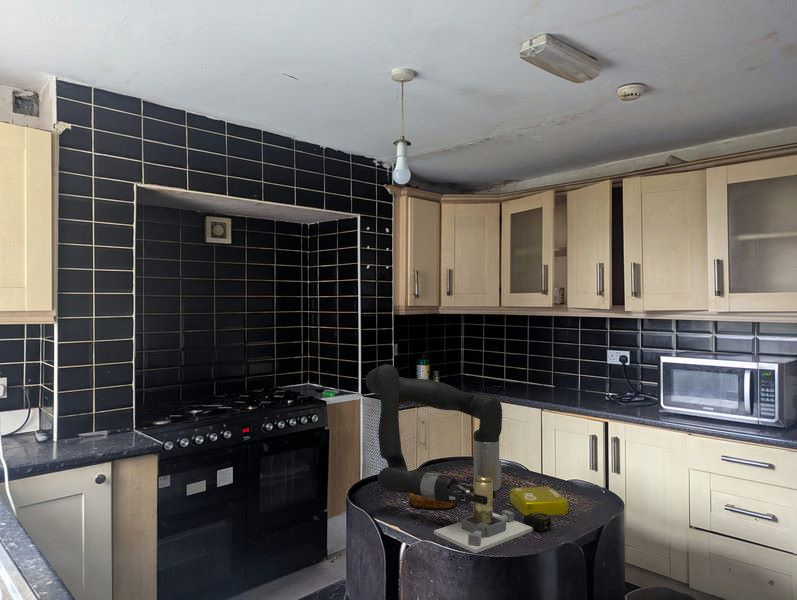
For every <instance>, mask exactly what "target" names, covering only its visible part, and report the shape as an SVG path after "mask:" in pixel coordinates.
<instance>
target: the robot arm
mask: <svg viewBox="0 0 797 600" xmlns="http://www.w3.org/2000/svg"><path fill="white" fill-rule="evenodd" d="M365 385H366V387H367V389H368V390H369V391H370V392H371V393H373V394H374V395H377V396H379V397H380V416H379V422H378V431H377V432H378V446H379V454H380V457H381V458H382V459H384V460H386V463H387V466H386V467H384V468H382V469H381V470H380V471H379V473H378V475H377V481H378V484H379V486H380V487H381V488H382V489H384V490H385V491H389V492H396V493H408V494H410V493H412V494H415V495H420V496H424V497H427V498H430V499H434V500H439V501H443V502H448V503H452V502H453V503H456V504H460V505H467V506H468V505H470V504H473V503H479V504H484V505H486V504H487V503H488V497H487V496H483V495H478V494H475V495H474V493H473V483H474V481H467V483H466V482H465V483H464V482H461V483H459V482H458V480H457V477H455V476H452V475H448V474H443V473H442V474H441V473H435V472H427V471H422V470H408V467H407V463H406V460H405V457H404V454H403V452H402V442H401V434H400V433H401V432H400V421H399V419H400V417H399V414H400V413H399V412H400V411H399V402H400V399H402V400H406V401H409V402H411V403H415V404H419V405H422V406H427V407H428V408H431V409H432V408H433V409H437V410H441V411H457V412H460V413H463V414H465V415H469V416H470V417H472V418H475V419H477V420H479V424H478V425H479V427H478V429H476V430H475V431H474V432H473V480H474V479H475V476H476V475H488V476H491V477H492V480H493V500H494V499H496V497H497V492H498V490H500V488H502V461H501V460H500V436H501V433H502V429H503V427H502V426H503V407H502V402H501V401H500V400H499V399H498V398H497V397H495V396H492V395H487V394H481V393H473V392H467V391H462V390H460V389H457V388H456V387H454V386H453V385H449V384H447V383H444V382H441V381H436V380H432V379H427V378H426V379H425V378H407V377H402V376H400V374H399V372H398V370H397V368H396V367H395V366H393V365H392V364H388V363H387V364H386V363H384V364H381V365H379V366H377V367H375V368H373V369H371V370H370V371H369V372H368V373H367V375H366V377H365Z"/></svg>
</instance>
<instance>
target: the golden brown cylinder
mask: <svg viewBox="0 0 797 600" xmlns="http://www.w3.org/2000/svg"><path fill="white" fill-rule="evenodd" d="M473 482H474V483H473V492H472V493H474V495H475V494H478V495H483V496H487V497H488V503H487V504H486V505H484V504H479V503H472V504H473V505H472V506H473V507H472V508H473V510H472V513H473V514H472V515H473V520H474V521H476V522H479V523H490V522H492V521H493V513H494V511H493V509H494V508H493V507H494V505H493V504H494V501H493V500H494V499H493V480H492V477H491V476H488V475H476V476H475V479H474V478H473Z"/></svg>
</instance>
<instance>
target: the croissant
mask: <svg viewBox="0 0 797 600" xmlns="http://www.w3.org/2000/svg"><path fill="white" fill-rule="evenodd" d="M408 500H409V501H410V503H411V505H412V506H414V507H416V506H417V507H416V508H422V509H423V508H424V509H450V508H452V507H455V505H456V504H457V503H453V502H452V503H448V502H443V501H439V500H434V499H430V498H427V497H424V496H420V495H415V494H412V493H409V496H408Z"/></svg>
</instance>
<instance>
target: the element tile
mask: <svg viewBox="0 0 797 600" xmlns="http://www.w3.org/2000/svg"><path fill="white" fill-rule="evenodd" d="M509 502H510V503H511V505H512V506H514V507H515V509H517V510H518V511H519V512H520V514H522V515H524V516H527V515H529V514H530V513H533V512H540V513H545V514H547V515H549V516H555V515H556V516H557V515H567V514H568V513H569V500H568V498H566V497H564V496H563V495H562V494H560V493H559V492H557V490H555V489H554V488H552V487H550V486H538V487H535V486H533V487H515V488H514V487H512V488H510V490H509Z"/></svg>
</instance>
